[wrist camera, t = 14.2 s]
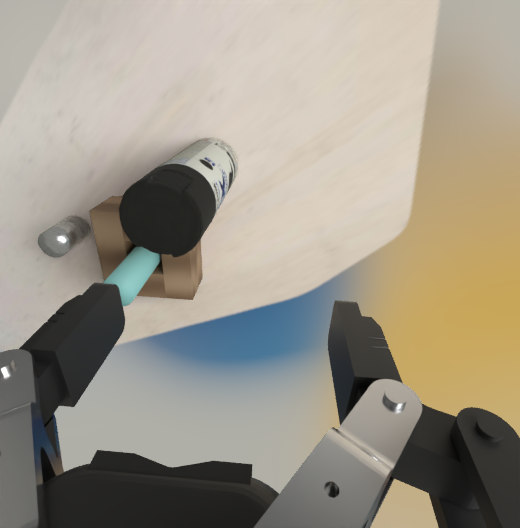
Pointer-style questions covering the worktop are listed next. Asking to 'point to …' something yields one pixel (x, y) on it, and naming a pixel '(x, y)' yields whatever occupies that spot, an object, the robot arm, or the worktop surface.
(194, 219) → the spray can
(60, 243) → the short pin
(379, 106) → the worktop surface
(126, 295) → the long pin
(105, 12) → the worktop surface
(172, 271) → the socket block
